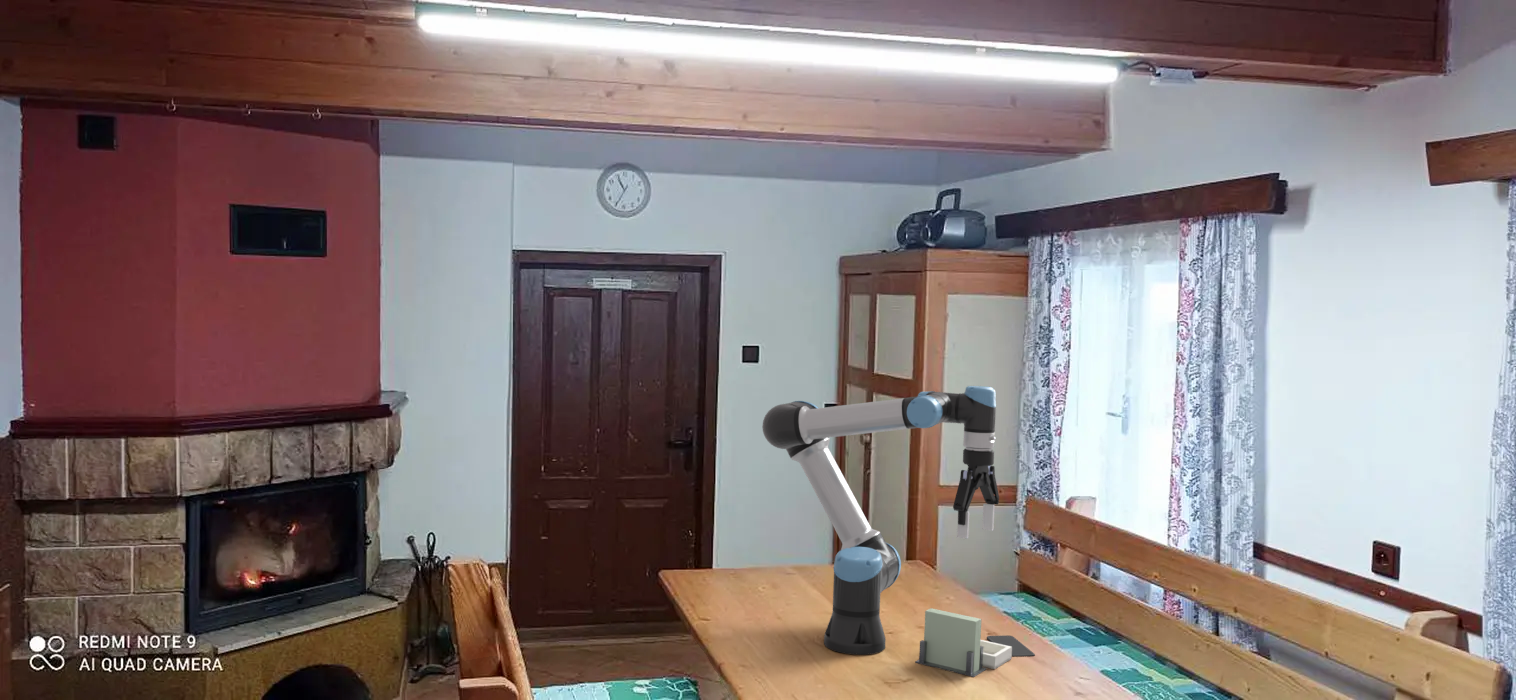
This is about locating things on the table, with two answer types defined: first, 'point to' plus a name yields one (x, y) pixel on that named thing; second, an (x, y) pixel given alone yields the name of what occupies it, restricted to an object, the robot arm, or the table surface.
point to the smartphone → (1012, 645)
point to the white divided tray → (995, 654)
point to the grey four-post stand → (968, 667)
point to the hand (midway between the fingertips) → (975, 533)
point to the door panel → (952, 638)
